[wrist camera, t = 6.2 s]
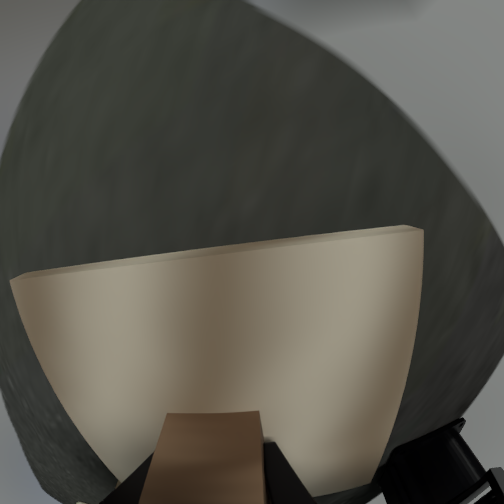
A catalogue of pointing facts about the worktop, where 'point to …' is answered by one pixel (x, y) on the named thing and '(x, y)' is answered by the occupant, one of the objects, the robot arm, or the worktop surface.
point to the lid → (234, 359)
